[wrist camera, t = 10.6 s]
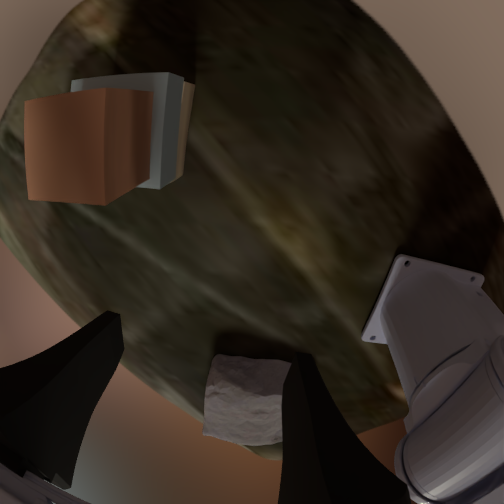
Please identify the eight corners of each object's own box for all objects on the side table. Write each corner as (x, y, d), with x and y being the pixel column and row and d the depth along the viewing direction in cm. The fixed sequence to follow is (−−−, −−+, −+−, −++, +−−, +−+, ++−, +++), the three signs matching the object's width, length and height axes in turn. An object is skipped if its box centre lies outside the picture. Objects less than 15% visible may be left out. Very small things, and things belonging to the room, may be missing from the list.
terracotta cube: (153, 91, 13) (106, 87, 9) (149, 179, 15) (105, 205, 11) (81, 97, 13) (25, 101, 9) (80, 175, 15) (28, 199, 11)
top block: (184, 77, 14) (168, 72, 12) (175, 178, 17) (159, 189, 15) (95, 81, 15) (71, 80, 12) (91, 172, 17) (69, 181, 15)
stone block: (313, 348, 27) (204, 347, 25) (327, 388, 23) (204, 391, 21) (286, 412, 32) (201, 414, 31) (293, 446, 28) (202, 449, 27)
